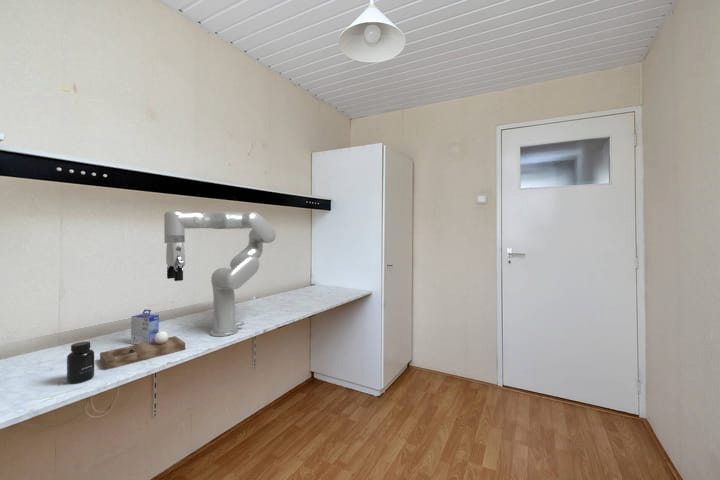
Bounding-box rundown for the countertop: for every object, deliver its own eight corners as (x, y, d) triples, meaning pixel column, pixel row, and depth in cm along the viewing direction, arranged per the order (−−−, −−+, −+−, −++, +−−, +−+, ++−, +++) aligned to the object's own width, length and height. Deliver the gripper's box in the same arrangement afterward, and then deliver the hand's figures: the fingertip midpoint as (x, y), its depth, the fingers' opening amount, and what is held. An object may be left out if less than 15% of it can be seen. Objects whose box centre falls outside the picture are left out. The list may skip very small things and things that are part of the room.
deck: (175, 342, 139) (175, 336, 138) (185, 349, 130) (185, 342, 130) (100, 360, 119) (99, 352, 119) (106, 369, 111) (106, 361, 111)
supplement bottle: (87, 382, 102) (87, 346, 101) (62, 385, 100) (61, 348, 99) (98, 373, 108) (98, 339, 108) (74, 376, 106) (74, 341, 106)
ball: (166, 340, 133) (166, 328, 133) (170, 343, 129) (170, 331, 129) (152, 343, 129) (152, 331, 129) (156, 346, 126) (156, 334, 126)
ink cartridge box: (159, 341, 140) (159, 309, 140) (149, 345, 135) (148, 312, 135) (141, 340, 142) (141, 308, 142) (130, 344, 137) (129, 311, 137)
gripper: (191, 240, 131) (191, 280, 131) (177, 239, 143) (178, 276, 143) (171, 240, 125) (171, 282, 126) (158, 239, 137) (159, 278, 138)
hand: (174, 279), depth 134 cm, fingers open, 9 cm apart
